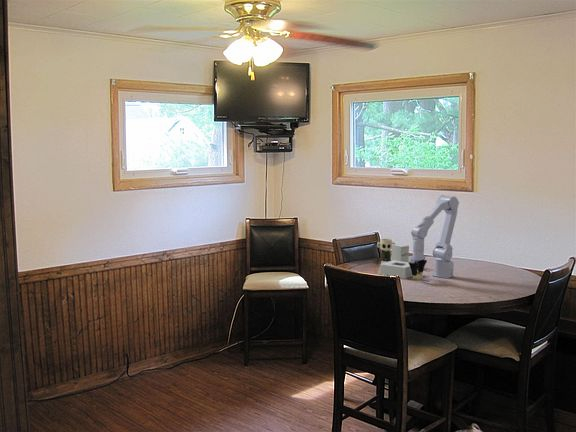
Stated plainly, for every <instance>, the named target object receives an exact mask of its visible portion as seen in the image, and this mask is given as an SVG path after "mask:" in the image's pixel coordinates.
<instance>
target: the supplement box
mask: <svg viewBox="0 0 576 432" xmlns="http://www.w3.org/2000/svg"><path fill="white" fill-rule="evenodd" d="M409 253H410V245H409V244H408V245H407V244H403V243H402V244H399V243H398V244H395V245H393V244H392V249H391V260H390V261H392V260H394V261H401V262H409V257H410V256H409V255H410V254H409Z"/></svg>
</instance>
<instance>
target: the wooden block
mask: <svg viewBox="0 0 576 432" xmlns="http://www.w3.org/2000/svg"><path fill="white" fill-rule="evenodd" d="M412 280H415V281H422V280H423V273H422V272H418V270H417V275H416V276H412Z"/></svg>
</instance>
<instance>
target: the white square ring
mask: <svg viewBox="0 0 576 432" xmlns="http://www.w3.org/2000/svg"><path fill="white" fill-rule="evenodd" d="M409 262H410V261H408V262H401V261H394V260H392V261H391V260H388V261H386V262H384V263H380V264H379V265H380V266H379V267H380V268H379V275H380V274H384V275H398V276H400V278H399V279H404V280H405V279H408V278H411V277H413V275H412V271H411V267H410V265H409Z"/></svg>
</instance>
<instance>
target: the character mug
mask: <svg viewBox="0 0 576 432" xmlns="http://www.w3.org/2000/svg"><path fill="white" fill-rule="evenodd" d="M379 240H380V241H377V242H376V243H377V244H376V247H377V248H379V249H380V250H381V253H380V260H382V261H391V258H392V255H391V251H392V245H396V243H395V242H393V239H391V238H381V239H379Z"/></svg>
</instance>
